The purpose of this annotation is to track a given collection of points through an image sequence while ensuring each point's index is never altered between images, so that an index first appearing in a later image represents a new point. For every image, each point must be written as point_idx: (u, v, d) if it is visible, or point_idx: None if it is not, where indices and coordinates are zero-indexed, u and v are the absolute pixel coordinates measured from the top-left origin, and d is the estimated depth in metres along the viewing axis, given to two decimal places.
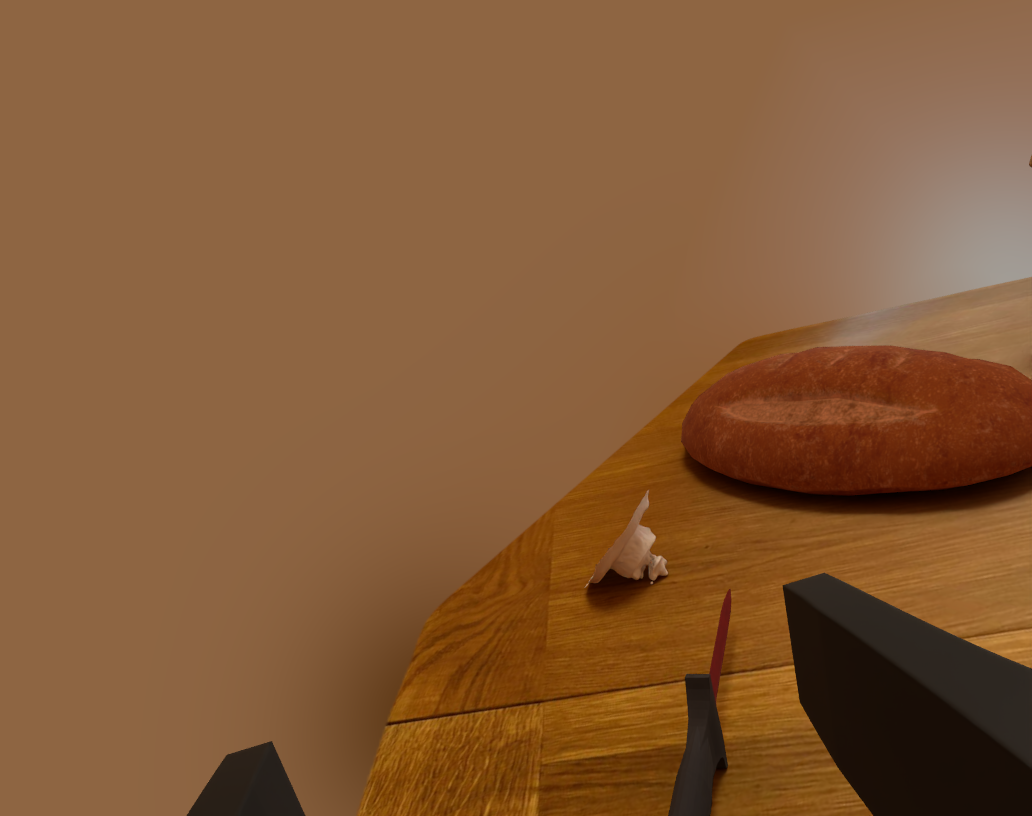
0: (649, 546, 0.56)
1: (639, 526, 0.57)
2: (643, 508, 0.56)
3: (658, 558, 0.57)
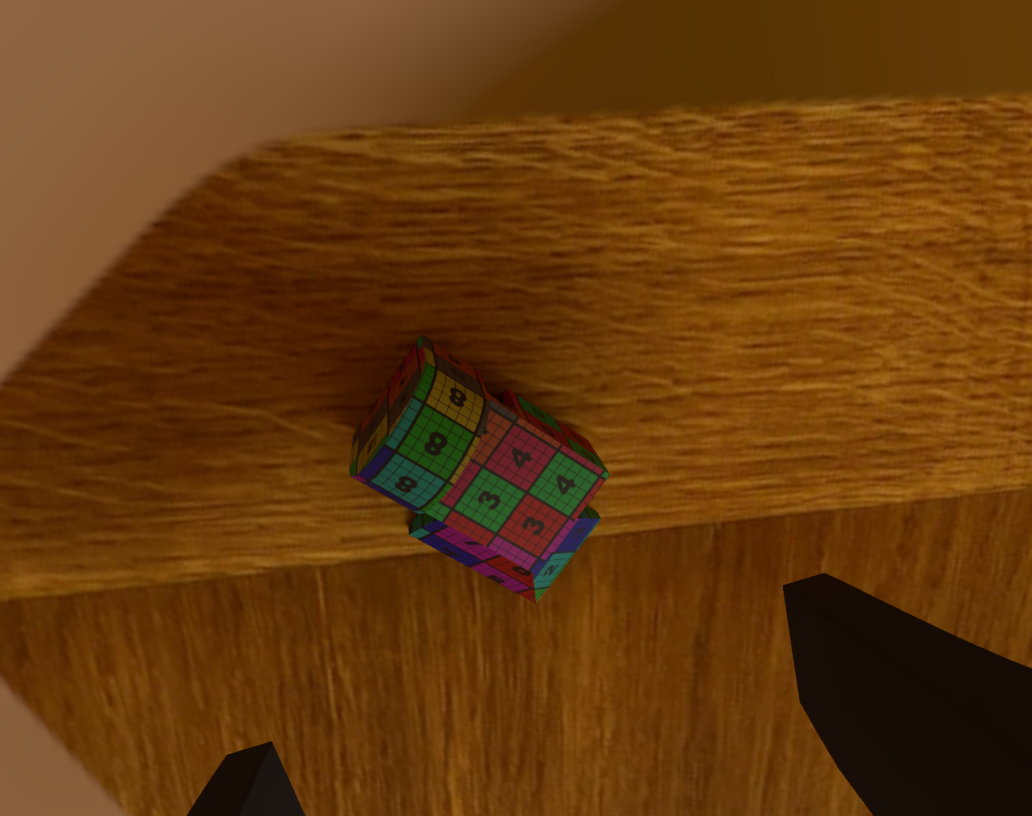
0: None
1: None
2: None
3: None
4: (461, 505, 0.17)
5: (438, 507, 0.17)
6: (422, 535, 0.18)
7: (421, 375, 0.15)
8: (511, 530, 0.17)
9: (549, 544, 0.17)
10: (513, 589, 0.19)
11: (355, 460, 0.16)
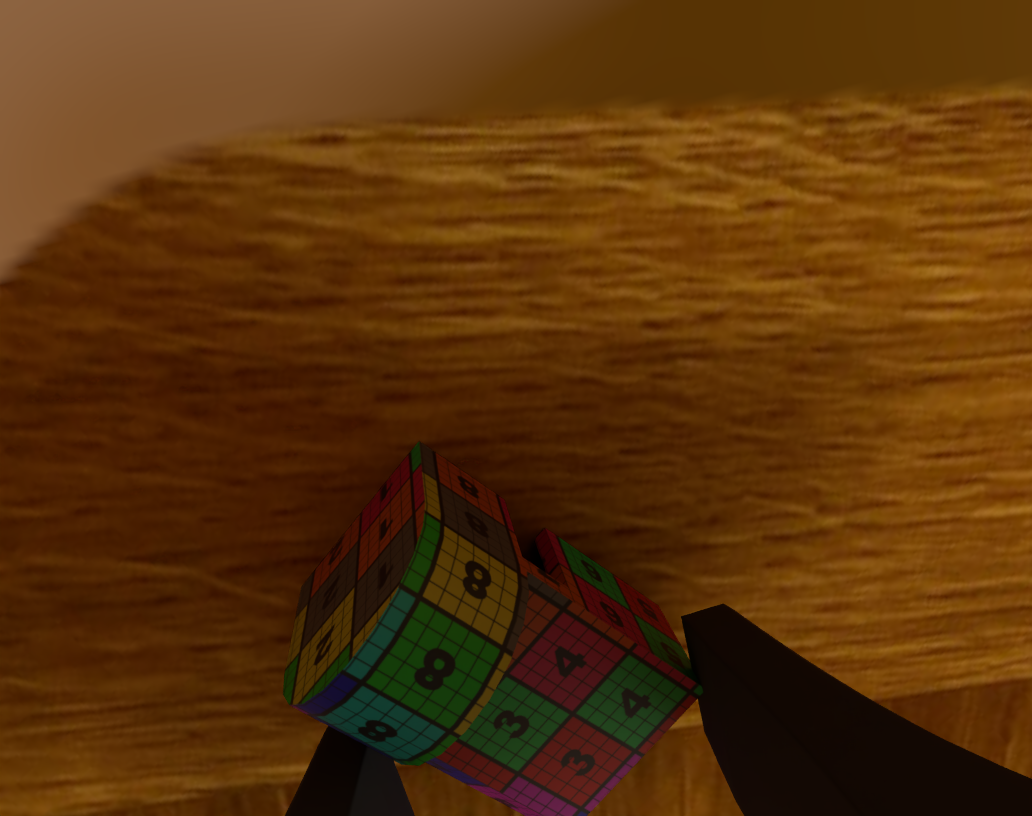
0: None
1: None
2: None
3: None
4: (467, 730, 0.10)
5: None
6: None
7: (417, 542, 0.09)
8: (543, 769, 0.11)
9: (600, 790, 0.11)
10: None
11: (296, 659, 0.10)
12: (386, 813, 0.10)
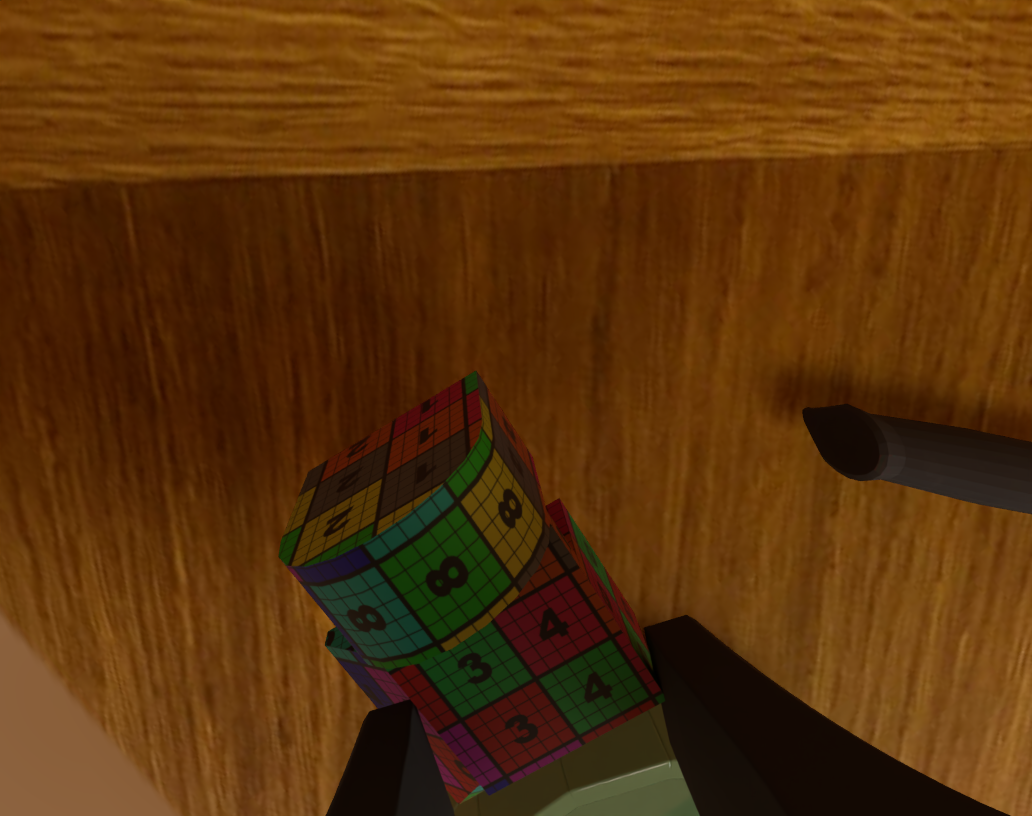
0: None
1: None
2: None
3: None
4: (430, 660, 0.10)
5: None
6: (344, 657, 0.12)
7: (469, 450, 0.09)
8: (486, 723, 0.11)
9: (531, 763, 0.11)
10: None
11: (297, 529, 0.09)
12: (429, 799, 0.10)
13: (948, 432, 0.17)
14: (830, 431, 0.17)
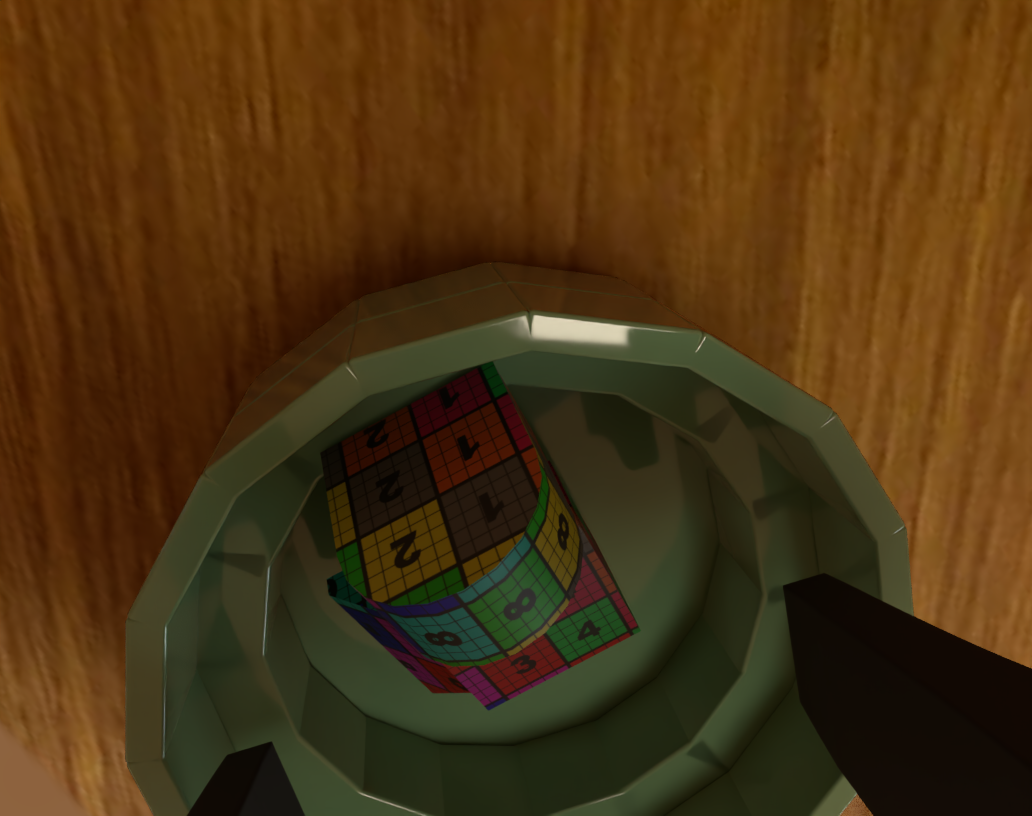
0: None
1: None
2: None
3: None
4: None
5: None
6: (350, 606, 0.13)
7: (537, 492, 0.09)
8: (495, 664, 0.12)
9: (526, 685, 0.13)
10: (418, 677, 0.15)
11: (351, 544, 0.10)
12: None
13: None
14: None
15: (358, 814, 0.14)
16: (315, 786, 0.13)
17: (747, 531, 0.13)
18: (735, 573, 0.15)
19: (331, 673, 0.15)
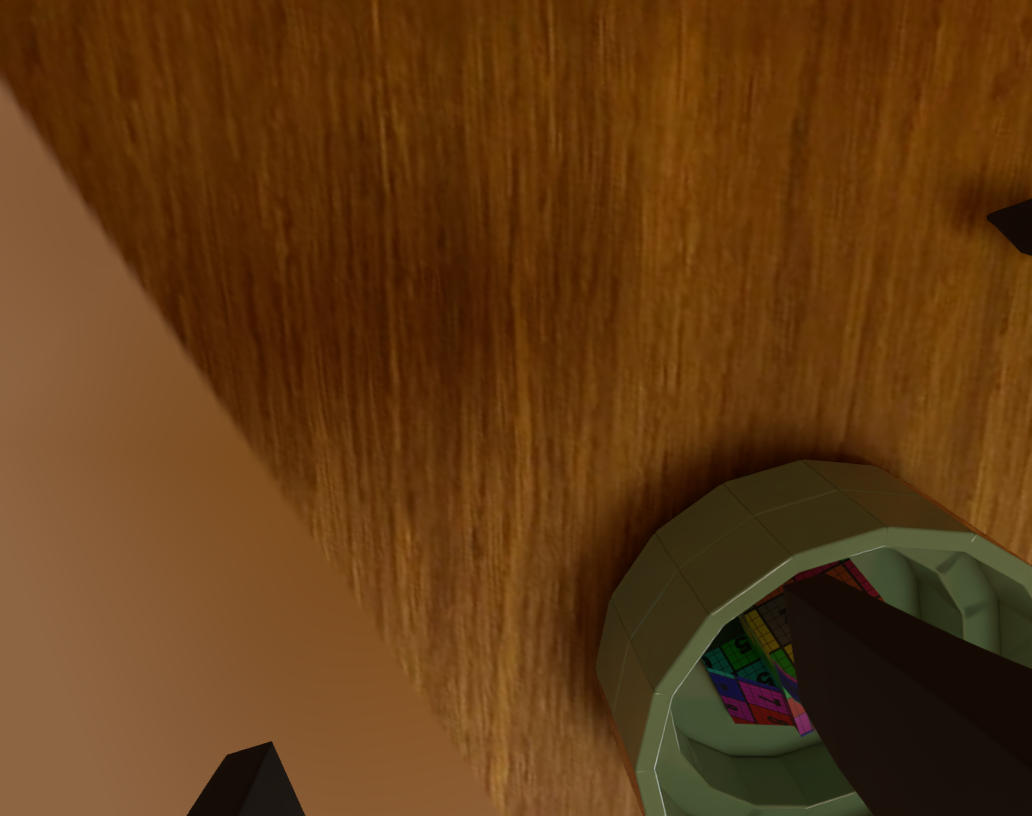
0: None
1: None
2: None
3: None
4: None
5: None
6: (721, 674, 0.21)
7: None
8: None
9: None
10: (733, 714, 0.23)
11: (778, 650, 0.18)
12: None
13: None
14: (1028, 221, 0.18)
15: (707, 802, 0.22)
16: (685, 784, 0.21)
17: (956, 624, 0.21)
18: None
19: (670, 710, 0.23)
